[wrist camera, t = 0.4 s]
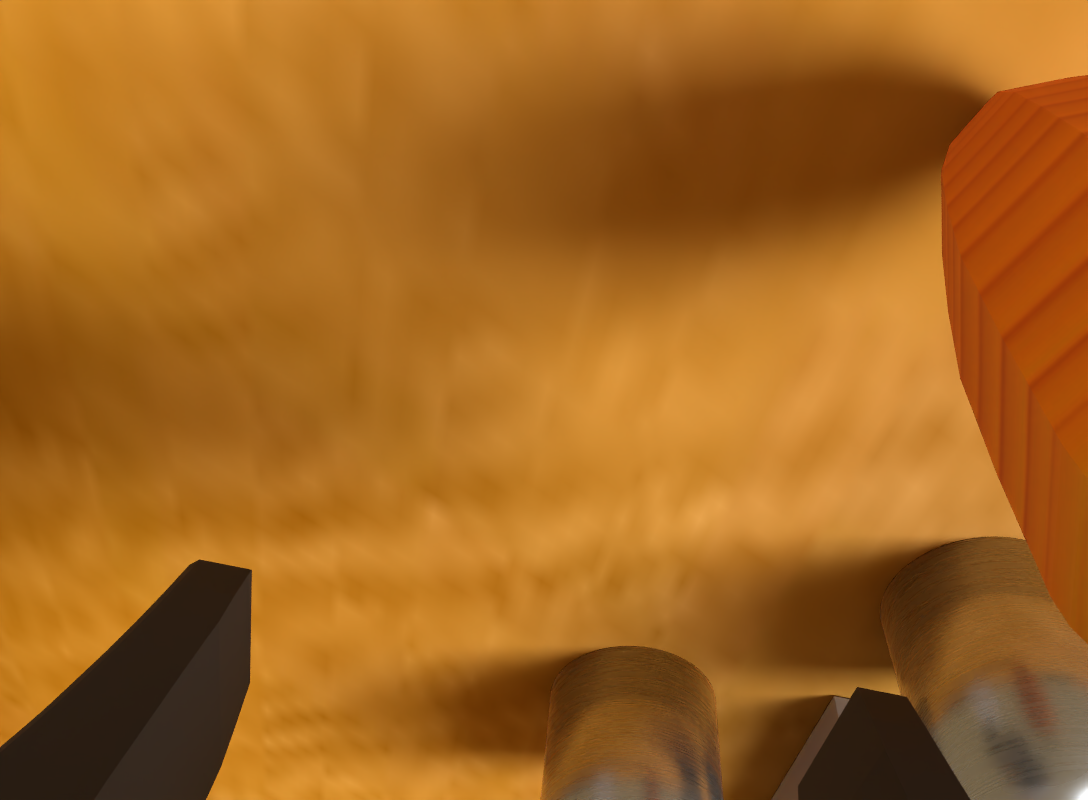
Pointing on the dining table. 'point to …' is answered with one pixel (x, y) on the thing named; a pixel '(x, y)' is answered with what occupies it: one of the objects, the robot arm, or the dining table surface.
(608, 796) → the steel weight
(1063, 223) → the carrot
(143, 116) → the dining table surface
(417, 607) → the dining table surface
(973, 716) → the steel weight
